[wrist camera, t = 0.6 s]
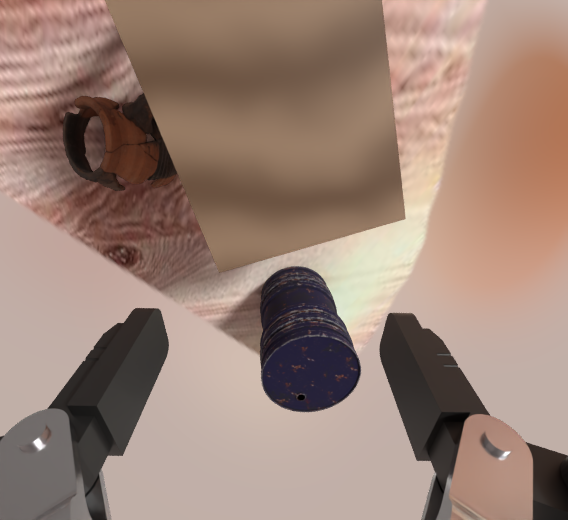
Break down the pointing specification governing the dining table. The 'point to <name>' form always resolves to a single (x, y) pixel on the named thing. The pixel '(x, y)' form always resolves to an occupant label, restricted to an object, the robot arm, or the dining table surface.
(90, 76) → the dining table surface
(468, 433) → the robot arm
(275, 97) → the wooden side table
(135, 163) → the pottery mug
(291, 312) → the dark blue cylinder
